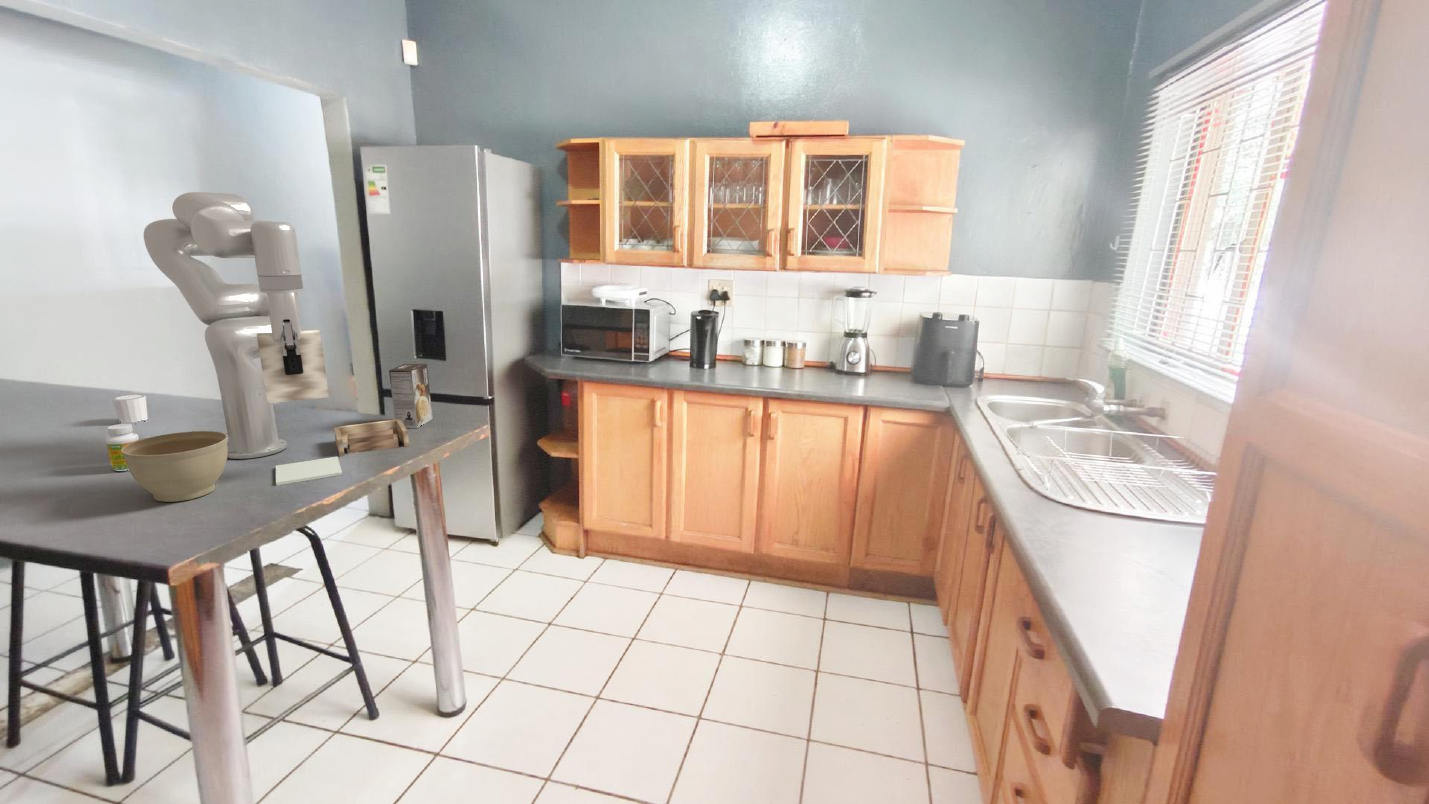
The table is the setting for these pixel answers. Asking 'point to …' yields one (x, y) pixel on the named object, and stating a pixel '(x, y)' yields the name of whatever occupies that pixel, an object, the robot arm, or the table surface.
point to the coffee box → (411, 394)
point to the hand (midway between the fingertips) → (294, 371)
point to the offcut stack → (372, 441)
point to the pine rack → (396, 425)
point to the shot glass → (131, 407)
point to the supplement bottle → (119, 444)
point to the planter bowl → (178, 463)
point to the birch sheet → (298, 384)
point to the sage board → (307, 470)
